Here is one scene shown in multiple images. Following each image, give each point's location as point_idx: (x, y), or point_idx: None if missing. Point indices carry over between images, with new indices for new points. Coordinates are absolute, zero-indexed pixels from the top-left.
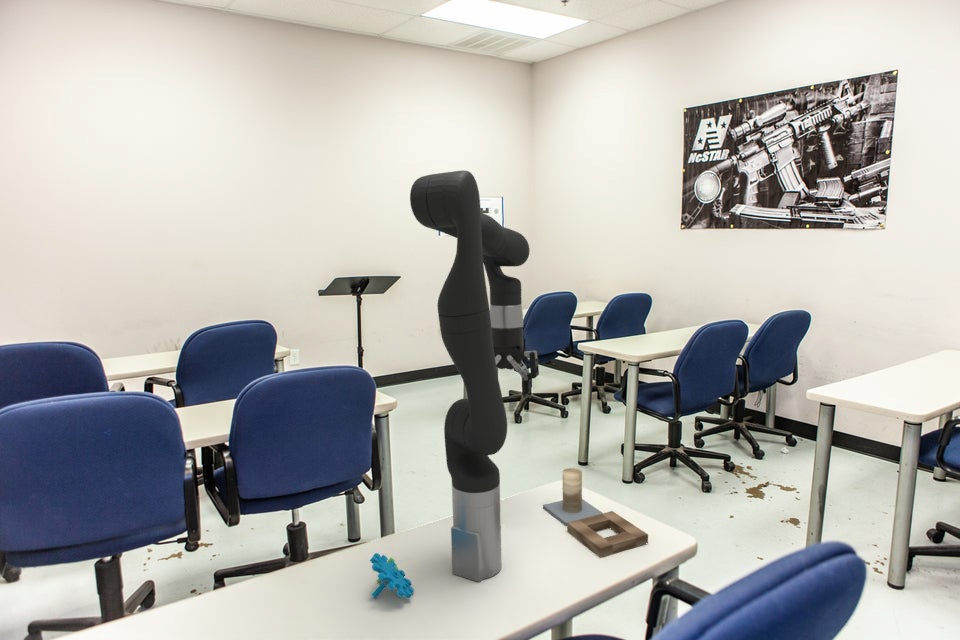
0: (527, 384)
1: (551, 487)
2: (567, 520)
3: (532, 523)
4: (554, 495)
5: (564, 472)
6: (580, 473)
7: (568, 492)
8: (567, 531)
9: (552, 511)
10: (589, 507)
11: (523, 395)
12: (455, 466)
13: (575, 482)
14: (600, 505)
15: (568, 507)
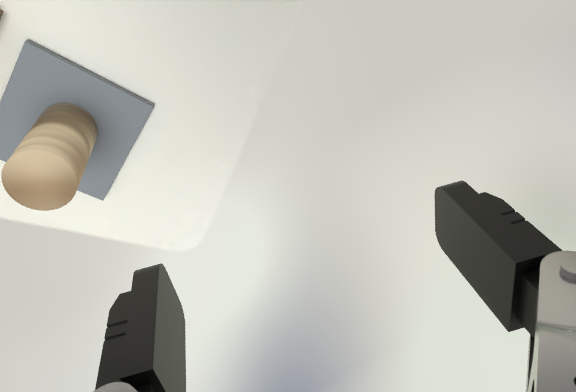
0: (113, 362)
1: (204, 216)
2: (32, 58)
3: (122, 2)
4: (171, 183)
5: (59, 164)
6: (6, 185)
7: (46, 125)
8: (2, 11)
9: (105, 85)
10: None
11: (151, 267)
12: None
13: (15, 150)
14: None
15: (58, 108)
